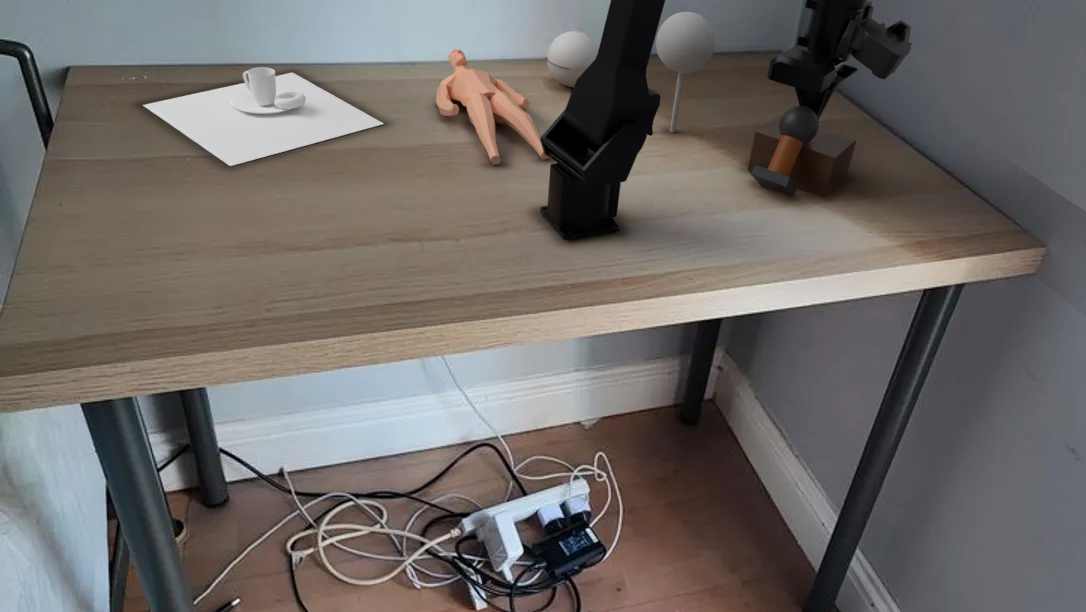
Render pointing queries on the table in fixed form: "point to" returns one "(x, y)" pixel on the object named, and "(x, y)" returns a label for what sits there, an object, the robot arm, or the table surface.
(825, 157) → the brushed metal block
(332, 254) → the table surface
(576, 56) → the white oval body
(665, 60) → the lollipop
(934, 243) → the table surface
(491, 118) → the male figurine
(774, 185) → the ball-topped stamp
